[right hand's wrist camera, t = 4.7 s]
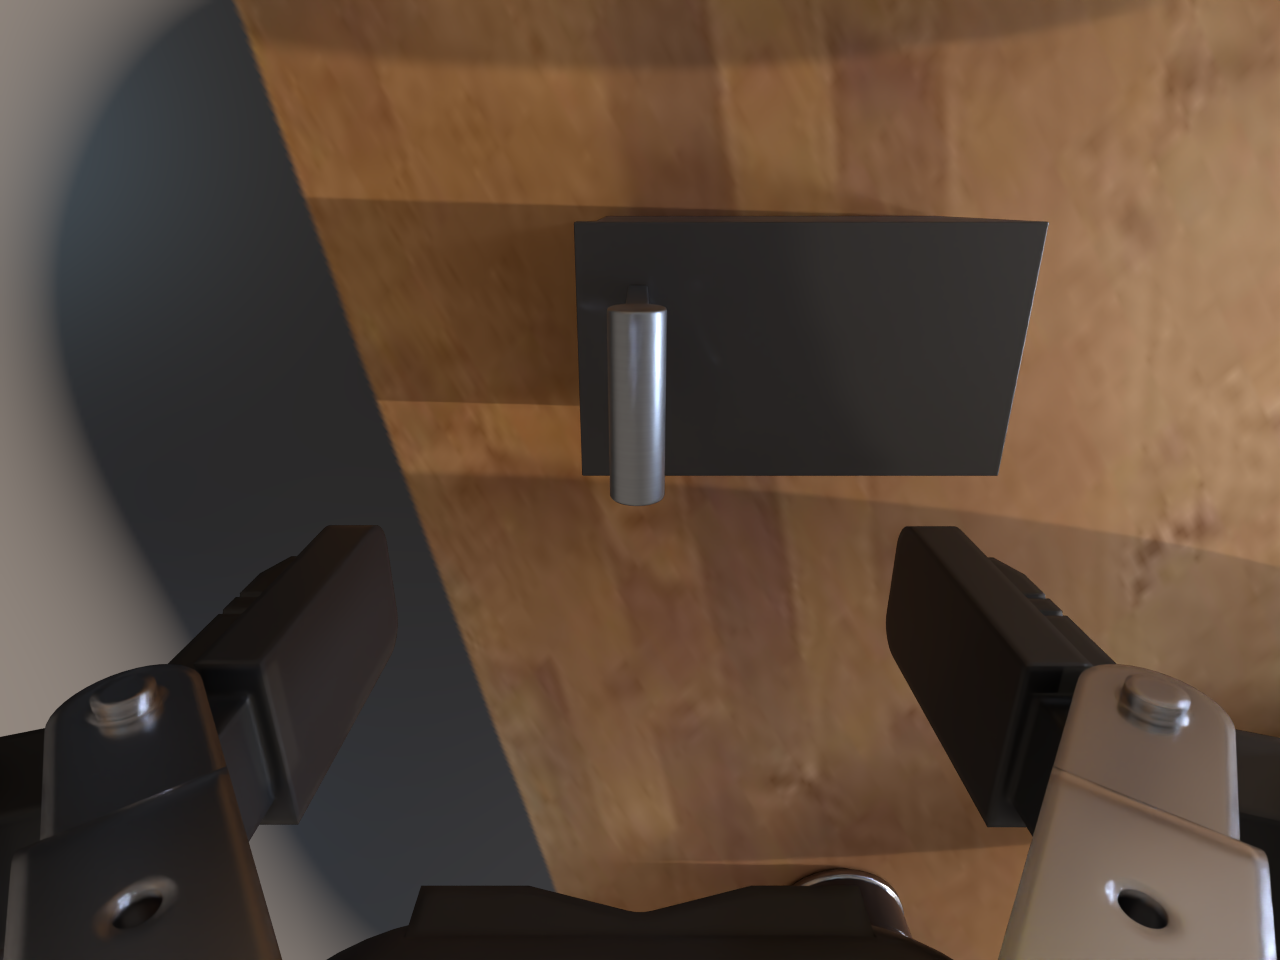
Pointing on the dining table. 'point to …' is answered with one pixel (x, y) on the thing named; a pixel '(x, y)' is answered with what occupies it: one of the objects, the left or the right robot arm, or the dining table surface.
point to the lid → (798, 347)
